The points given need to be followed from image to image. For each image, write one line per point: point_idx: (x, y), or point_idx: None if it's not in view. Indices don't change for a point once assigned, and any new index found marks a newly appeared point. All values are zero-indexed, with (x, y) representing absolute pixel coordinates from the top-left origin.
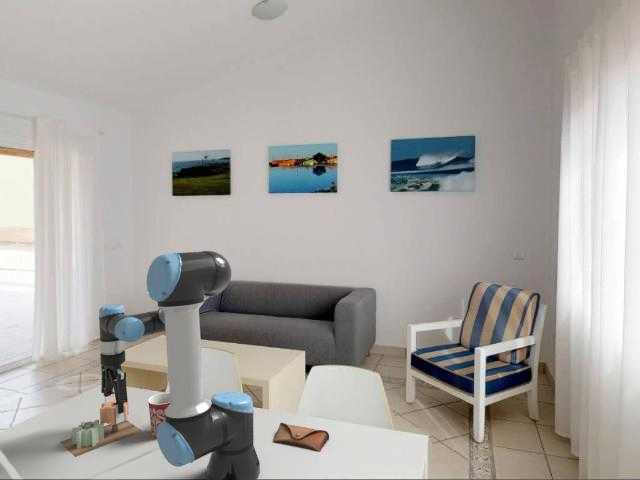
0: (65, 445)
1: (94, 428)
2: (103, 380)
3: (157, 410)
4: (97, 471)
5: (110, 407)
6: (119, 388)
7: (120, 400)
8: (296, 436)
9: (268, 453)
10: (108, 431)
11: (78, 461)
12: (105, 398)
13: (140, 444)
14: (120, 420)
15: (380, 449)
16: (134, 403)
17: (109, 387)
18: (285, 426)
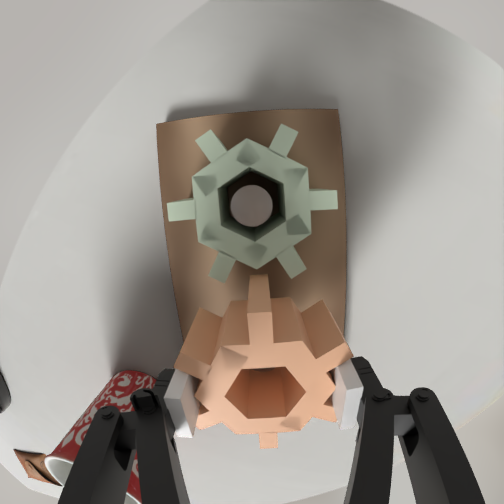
0: (287, 114)
1: (197, 224)
2: (439, 479)
3: (60, 442)
4: (62, 177)
5: (234, 367)
6: (64, 493)
7: (91, 425)
8: (29, 464)
9: (17, 429)
10: (282, 293)
11: None
12: (348, 386)
13: (135, 338)
14: None
15: (11, 464)
16: None
17: (353, 468)
18: (53, 480)
